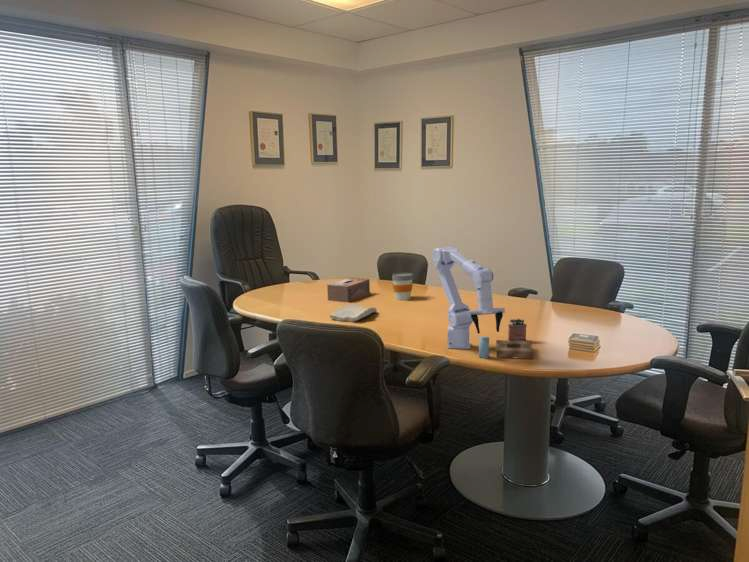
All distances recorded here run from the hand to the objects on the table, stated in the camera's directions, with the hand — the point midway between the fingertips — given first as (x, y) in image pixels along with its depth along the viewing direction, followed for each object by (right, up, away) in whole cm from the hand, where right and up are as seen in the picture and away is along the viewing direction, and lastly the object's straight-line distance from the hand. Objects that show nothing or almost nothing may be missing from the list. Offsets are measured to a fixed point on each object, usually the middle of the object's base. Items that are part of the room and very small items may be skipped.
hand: (488, 332), depth 217 cm
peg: (-1, -10, +2) cm, 10 cm away
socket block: (+12, -9, +6) cm, 16 cm away
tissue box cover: (-61, +10, +120) cm, 135 cm away
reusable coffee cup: (-28, +10, +111) cm, 115 cm away
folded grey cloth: (-56, +1, +72) cm, 91 cm away
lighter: (+17, -6, +22) cm, 29 cm away
